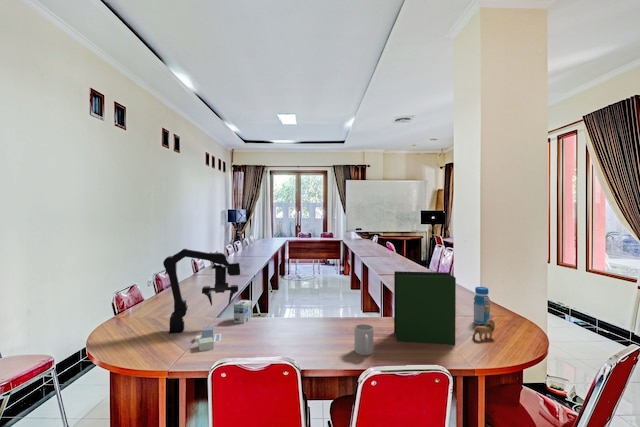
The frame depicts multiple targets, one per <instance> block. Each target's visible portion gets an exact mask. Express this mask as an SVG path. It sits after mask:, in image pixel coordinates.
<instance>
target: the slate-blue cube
mask: <svg viewBox="0 0 640 427" xmlns="http://www.w3.org/2000/svg"><path fill="white" fill-rule="evenodd" d="M214 328H215V327H214V326H213V325H212V326H203V327H202V330H201V333H202V334H201V335H202V338H209V337H212V339H213V338H214V334H215V329H214Z"/></svg>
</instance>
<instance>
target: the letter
mask: <svg viewBox="0 0 640 427" xmlns="http://www.w3.org/2000/svg"><path fill="white" fill-rule="evenodd" d="M198 339H202V334H200V335H196V336H195V339H194V342H193V345H197V344H198ZM221 340H222V333H214V338H213V341H214V343H219V342H221Z"/></svg>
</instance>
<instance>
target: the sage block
mask: <svg viewBox="0 0 640 427" xmlns="http://www.w3.org/2000/svg"><path fill="white" fill-rule="evenodd" d="M214 343H215V342H214V341H213V339H212V337H209V338H202V339H198V346H197V347H198V350H199V352H204V351H205V352H206V351H210V350H211V351H212V350H214V345H215V344H214Z"/></svg>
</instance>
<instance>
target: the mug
mask: <svg viewBox="0 0 640 427" xmlns="http://www.w3.org/2000/svg"><path fill="white" fill-rule="evenodd" d="M353 347H354V348H353V349H354V353H356V354H358V355H360V356H370V355H372V354H374V326H372V325H371V324H365V323H361V324H360V323H359V324H356V325H354V346H353Z"/></svg>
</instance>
